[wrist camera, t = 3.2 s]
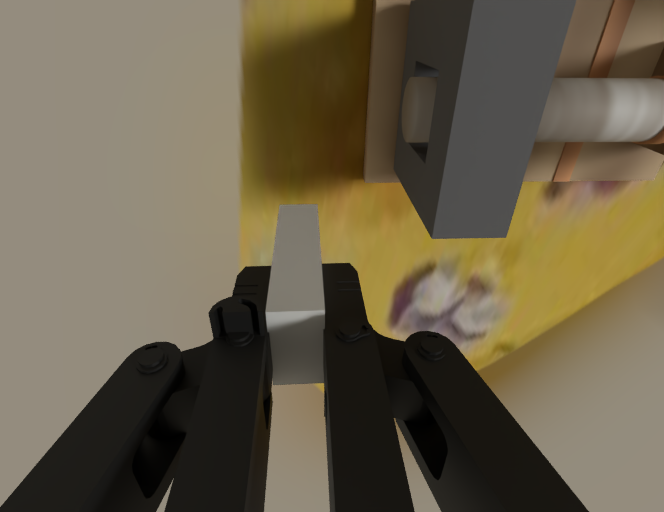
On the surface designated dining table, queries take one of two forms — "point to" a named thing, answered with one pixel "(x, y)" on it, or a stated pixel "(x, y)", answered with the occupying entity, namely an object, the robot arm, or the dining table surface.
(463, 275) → the dining table surface
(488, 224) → the dark grey flat block
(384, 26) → the pipe rig
